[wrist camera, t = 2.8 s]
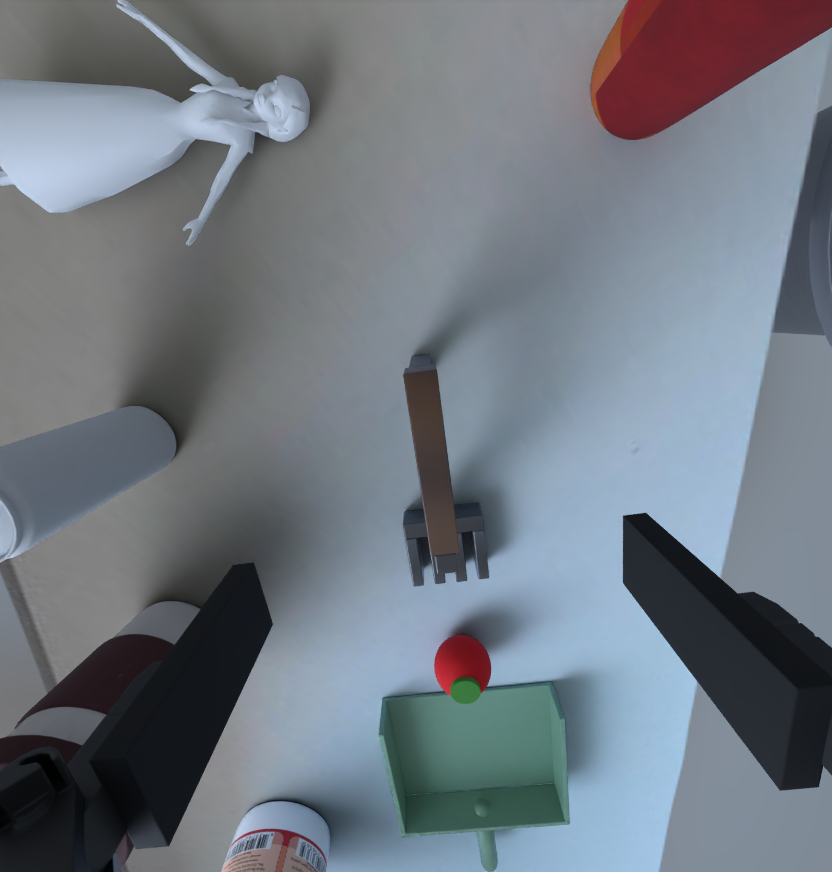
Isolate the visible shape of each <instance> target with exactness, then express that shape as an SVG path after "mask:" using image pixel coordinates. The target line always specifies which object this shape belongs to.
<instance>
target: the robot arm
mask: <svg viewBox="0 0 832 872" xmlns="http://www.w3.org/2000/svg"><path fill="white" fill-rule="evenodd" d="M623 584H624V585H625V586H626V588H627V589H628V590H629V592H630V593H631V594H632V596H633V597H634V598H635V599H636V601H637V602H638V603H639V605H640V606H641V607H642V609H643V610H644V611H645V613H646V614H647V615H648V617H649V618H650V619H651V621H652V622H653V623H654V625H655V626H656V627H657V629H658V630H659V631H660V633H661V634H662V635H663V636H664V638H665V639H666V640H667V642H668V643H669V644H670V646H671V647H672V648H673V650H674V651H675V652H676V654H677V655H678V656H679V658H680V659H681V660H682V662H683V663H684V664H685V666H686V667H687V668H688V670H689V671H690V672H691V673H692V675H693V676H694V677H695V679H696V680H697V681H698V683H699V684H700V685H701V687H702V688H703V689H704V691H705V692H706V693H707V695H708V696H709V697H710V698H711V700H712V701H713V703H714V704H715V705H716V707H717V708H718V709H719V710H720V712H721V713H722V714H723V716H724V717H725V718H726V720H727V721H728V722H729V724H730V725H731V726H732V728H733V729H734V730H735V732H736V733H737V734H738V736H739V737H740V738H741V740H742V741H743V742H744V743H745V745H746V746H747V747H748V749H749V750H750V751H751V753H752V754H753V755H754V757H755V758H756V759H757V761H758V762H759V763H760V765H761V766H762V767H763V769H764V770H765V771H766V773H767V774H768V775H769V777H770V778H771V779H772V781H773V782H774V783H775V785H776V786H777V787H778V788H779V790H792V789H803V788H814V787H819V783H820V779H821V773H822V769H823V766H824V767H825V768H826V769H827V770H828V771H829V773H830V774H831V775H832V648H831V647H830V646H828V645H827V644H826V643H825V642H824V641H823V640H821V639H820V638H819V637H815V636H814V633H813V632H812V631H810V630H809V629H808V628H807V627H805V626H804V625H803V624H802V623H798V620H797V619H796V618H794V617H793V616H792V615H790V614H789V613H788V612H786V610H784V609H783V608H782V607H780V606H779V605H778V604H776V603H774V602H772V601H771V600H768V599H766V598H765V597H763V596H761V595H759V594H757V593H755V592H748V593H739V594H738V593H736V592H735V591H734V590H733V589H732V588H731V587H729V586H728V585H727V584H726V583H725V582H724V581H723V580H722V579H720V578H719V577H718V576H717V575H716V574H715V573H714V572H713V571H711V570H710V569H709V568H708V567H707V566H706V565H705V564H703V563H702V562H701V561H700V560H699V559H698V558H697V557H695V556H694V555H693V554H692V553H691V552H690V551H689V550H688V549H686V548H685V547H684V546H683V545H682V544H681V543H680V542H678V541H677V540H676V539H675V538H674V537H673V536H672V535H670V534H669V533H668V532H667V531H666V530H665V529H664V528H662V527H661V526H660V525H659V524H658V523H657V522H656V521H655V520H653V519H652V518H651V517H650V516H649V515H648V514H647V513H641V514H633V515H625V516H623ZM272 625H273V623H272V619H271V616H270V613H269V610H268V606H267V603H266V600H265V597H264V593H263V590H262V587H261V584H260V580H259V577H258V574H257V571H256V567H255V564H254V562H252V563H245V564H237V565H233V566H232V568H231V569H230V570H229V572H228V573H227V574H226V576H225V577H224V578H223V580H222V581H221V582H220V584H219V585H218V587H217V588H216V589H215V591H214V592H213V593H212V595H211V596H210V597H209V599H208V600H207V601H206V603H205V604H204V605H203V607H202V608H201V610H200V611H199V612H198V614H197V615H196V616H195V618H194V619H193V620H192V622H191V623H190V624H189V626H188V627H187V629H186V630H185V631H184V633H183V634H182V635H181V637H180V638H179V639H178V641H177V642H176V643H175V645H174V646H173V648H172V649H171V650H170V652H169V653H168V654H167V656H166V657H165V658H164V660H163V661H158V662H153V663H152V664H151V665H150V666H148V667H147V668H146V669H145V670H144V671H143V672H141V673H140V674H139V675H138V676H137V677H136V678H134V680H133V681H132V682H131V684H130V685H129V686H128V687H127V689H126V690H125V691H124V693H123V694H122V695H121V696H120V697H121V698H120V700H117V702H116V703H115V704H114V705H113V707H112V708H111V709H110V711H109V714H108V715H107V716H105V717H104V718H103V720H102V721H101V722H100V723H99V725H98V726H97V727H96V729H95V730H94V731H93V732H92V734H91V735H90V736H89V738H88V739H87V740H86V741H85V743H84V744H83V745H82V747H81V748H80V749H79V750H78V752H77V753H76V754H75V756H74V757H73V758H72V759H71V761H70V762H69V763H68V765H66V763H65V762H64V760H63V758H62V756H61V754H60V753H59V751H58V749H57V748H54V747H50V746H47V747H42V748H37V749H35V750H33V751H30V752H28V753H26V754H24V755H22V756H20V757H19V758H17V759H16V760H14V761H13V762H11V763H10V764H8V765H7V766H5V767H4V768H3V769H1V770H0V872H121V870H120V861H119V859H118V856H117V854H116V852H115V851H116V850H117V848H118V846H119V844H120V843H121V841H122V839H123V837H124V835H125V834H126V832H127V833H128V835H129V837H130V839H131V841H132V843H133V844H134V846H135V848H136V849H143V848H154V847H165V846H169V845H170V843H171V841H172V839H173V836H174V834H175V832H176V830H177V828H178V826H179V824H180V821H181V819H182V817H183V815H184V813H185V811H186V809H187V807H188V804H189V802H190V800H191V798H192V796H193V794H194V792H195V789H196V787H197V785H198V783H199V781H200V779H201V777H202V775H203V772H204V770H205V768H206V766H207V764H208V762H209V760H210V758H211V755H212V753H213V751H214V749H215V747H216V745H217V743H218V740H219V738H220V736H221V734H222V732H223V730H224V728H225V726H226V723H227V721H228V719H229V717H230V715H231V713H232V711H233V708H234V706H235V704H236V702H237V700H238V698H239V696H240V694H241V691H242V689H243V687H244V685H245V683H246V681H247V679H248V677H249V674H250V672H251V670H252V668H253V666H254V664H255V662H256V659H257V657H258V655H259V653H260V651H261V649H262V647H263V645H264V642H265V640H266V638H267V636H268V634H269V632H270V630H271V627H272Z"/></svg>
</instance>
